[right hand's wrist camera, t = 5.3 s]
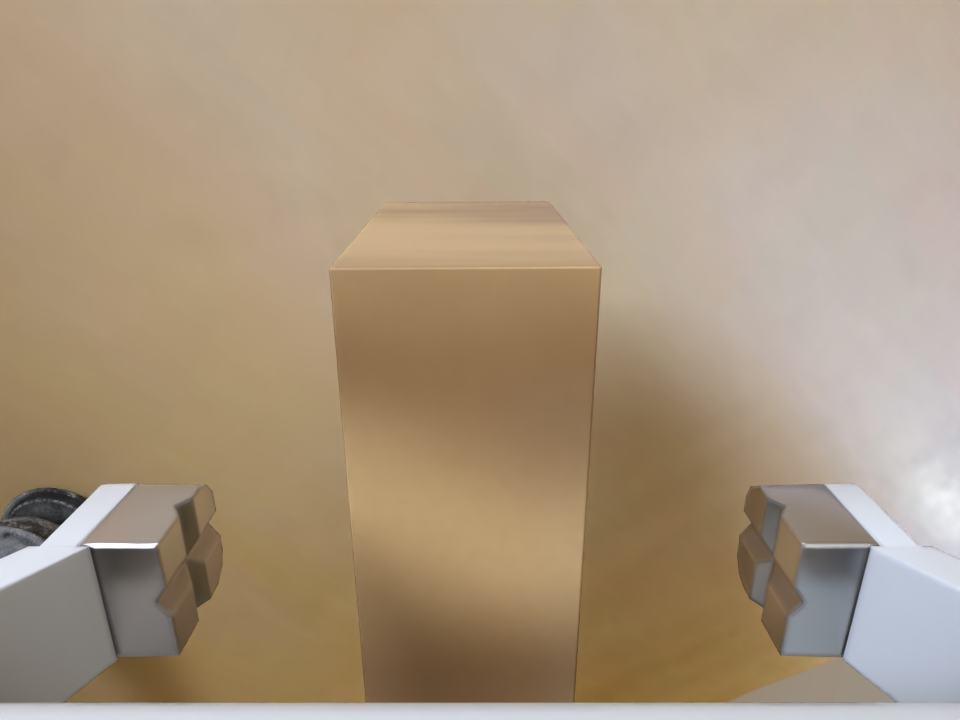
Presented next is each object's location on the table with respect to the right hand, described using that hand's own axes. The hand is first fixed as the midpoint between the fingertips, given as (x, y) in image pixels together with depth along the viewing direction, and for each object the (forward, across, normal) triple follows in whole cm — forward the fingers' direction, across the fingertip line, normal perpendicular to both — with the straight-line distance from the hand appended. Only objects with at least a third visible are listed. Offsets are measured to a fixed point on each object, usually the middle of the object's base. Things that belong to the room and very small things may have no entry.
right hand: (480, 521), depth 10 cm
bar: (+11, 0, -10) cm, 15 cm away
